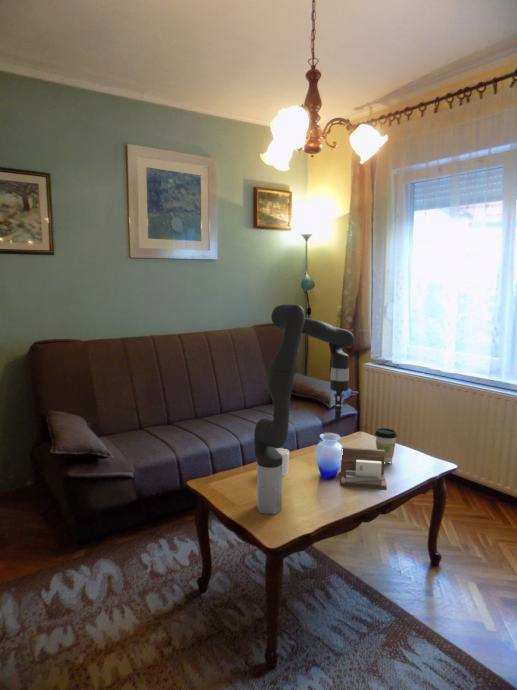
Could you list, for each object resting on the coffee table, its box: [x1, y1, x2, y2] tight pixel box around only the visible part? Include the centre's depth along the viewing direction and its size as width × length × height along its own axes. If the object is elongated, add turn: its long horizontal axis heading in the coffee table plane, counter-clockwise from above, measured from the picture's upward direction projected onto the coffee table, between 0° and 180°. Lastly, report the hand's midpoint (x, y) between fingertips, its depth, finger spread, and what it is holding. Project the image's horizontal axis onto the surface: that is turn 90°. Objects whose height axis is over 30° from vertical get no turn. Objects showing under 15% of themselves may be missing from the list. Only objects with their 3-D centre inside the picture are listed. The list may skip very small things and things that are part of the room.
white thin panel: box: [356, 460, 382, 478], centre depth 184 cm, size 2×10×8 cm, turn 81°
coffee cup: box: [374, 427, 398, 463], centre depth 206 cm, size 10×10×15 cm
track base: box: [340, 446, 388, 490], centre depth 187 cm, size 14×18×11 cm
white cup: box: [275, 447, 290, 477], centre depth 193 cm, size 8×8×10 cm
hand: (338, 417), depth 185 cm, fingers open, 8 cm apart
